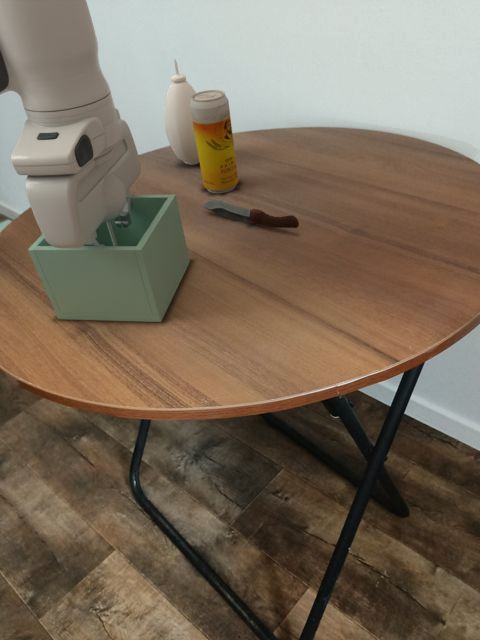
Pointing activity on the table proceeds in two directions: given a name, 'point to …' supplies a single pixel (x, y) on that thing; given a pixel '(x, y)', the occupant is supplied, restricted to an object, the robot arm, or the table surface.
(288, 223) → the knife
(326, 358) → the table surface
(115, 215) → the lollipop
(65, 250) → the tub
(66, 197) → the robot arm
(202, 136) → the beer can
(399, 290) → the table surface
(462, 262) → the table surface
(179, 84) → the sauce bottle
